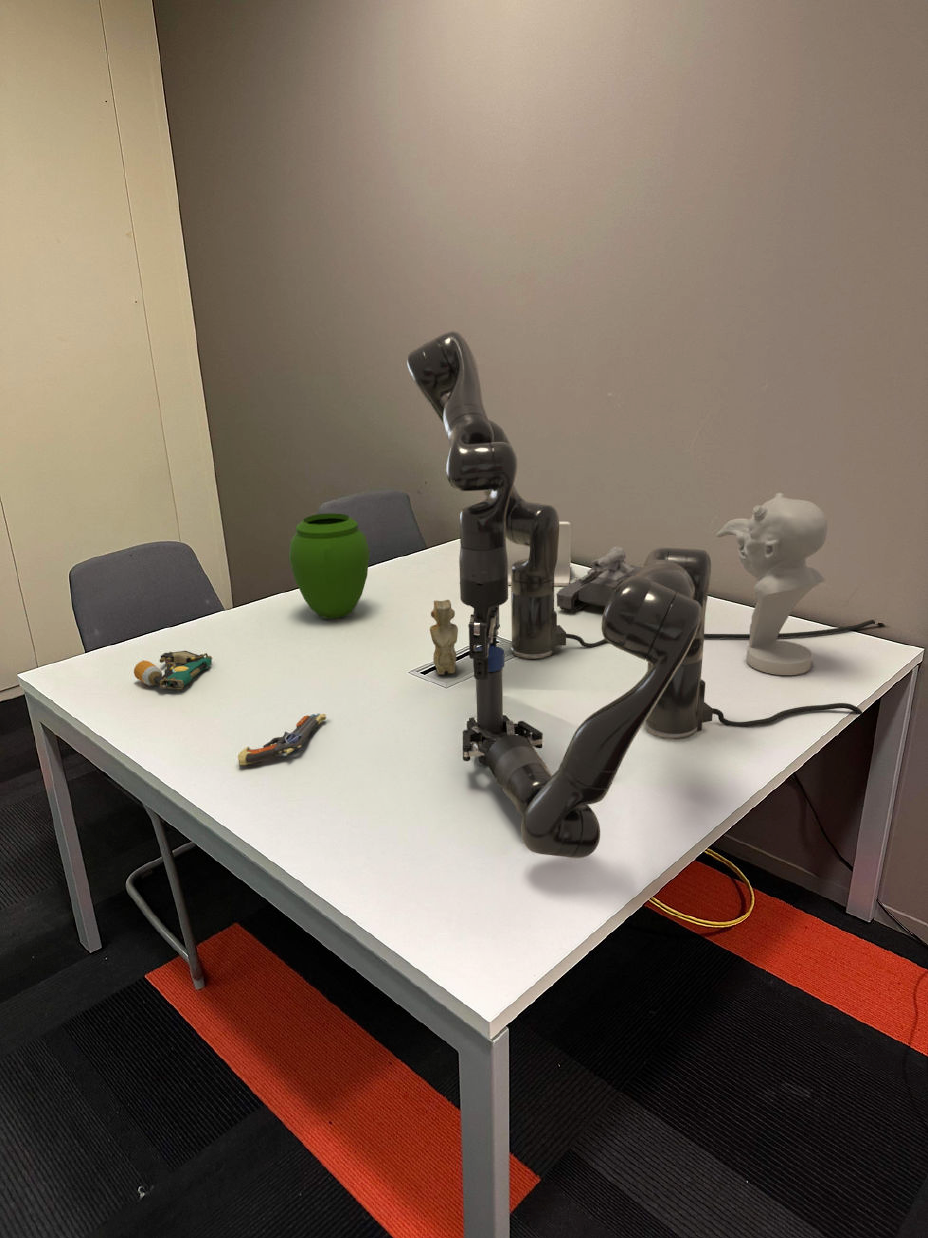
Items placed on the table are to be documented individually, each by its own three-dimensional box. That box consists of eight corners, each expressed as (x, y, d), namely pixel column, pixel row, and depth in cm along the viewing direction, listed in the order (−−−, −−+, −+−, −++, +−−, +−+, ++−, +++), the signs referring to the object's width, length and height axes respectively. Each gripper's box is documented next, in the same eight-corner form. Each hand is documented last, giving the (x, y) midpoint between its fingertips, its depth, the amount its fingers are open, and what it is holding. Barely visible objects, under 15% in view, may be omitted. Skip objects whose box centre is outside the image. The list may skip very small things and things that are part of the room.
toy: (603, 584, 229) (605, 530, 224) (673, 597, 218) (677, 540, 213) (555, 612, 210) (556, 553, 205) (630, 627, 199) (633, 566, 194)
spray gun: (177, 659, 191) (231, 671, 185) (120, 684, 176) (176, 698, 171) (176, 641, 190) (230, 653, 184) (118, 665, 175) (174, 678, 169)
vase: (389, 608, 216) (383, 514, 208) (339, 633, 201) (330, 533, 192) (330, 596, 226) (322, 506, 218) (278, 619, 211) (267, 523, 202)
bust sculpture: (745, 630, 196) (760, 478, 183) (832, 666, 176) (855, 499, 163) (692, 644, 189) (703, 487, 176) (776, 683, 169) (796, 510, 156)
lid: (477, 673, 136) (476, 659, 135) (470, 661, 140) (469, 647, 139) (508, 669, 137) (507, 655, 136) (499, 657, 141) (499, 644, 140)
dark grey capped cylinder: (490, 750, 147) (488, 647, 141) (508, 759, 144) (507, 655, 138) (472, 760, 145) (469, 655, 138) (490, 769, 142) (488, 662, 135)
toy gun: (232, 755, 143) (287, 753, 141) (276, 711, 161) (326, 708, 159) (235, 770, 144) (291, 767, 142) (279, 724, 162) (329, 722, 160)
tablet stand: (569, 585, 229) (570, 524, 223) (476, 584, 232) (475, 523, 226) (570, 566, 246) (571, 508, 240) (484, 564, 249) (483, 507, 243)
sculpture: (458, 662, 183) (456, 596, 178) (460, 676, 176) (457, 608, 171) (431, 663, 183) (428, 597, 177) (431, 677, 176) (428, 609, 171)
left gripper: (468, 558, 140) (471, 650, 146) (450, 586, 127) (454, 685, 133) (514, 559, 139) (514, 652, 144) (500, 587, 126) (501, 688, 131)
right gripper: (563, 739, 130) (524, 693, 145) (473, 755, 126) (443, 706, 142) (562, 782, 133) (524, 732, 148) (474, 799, 129) (445, 746, 144)
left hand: (485, 668), depth 139 cm, fingers open, 7 cm apart
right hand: (485, 720), depth 145 cm, fingers closed on dark grey capped cylinder, 4 cm apart
